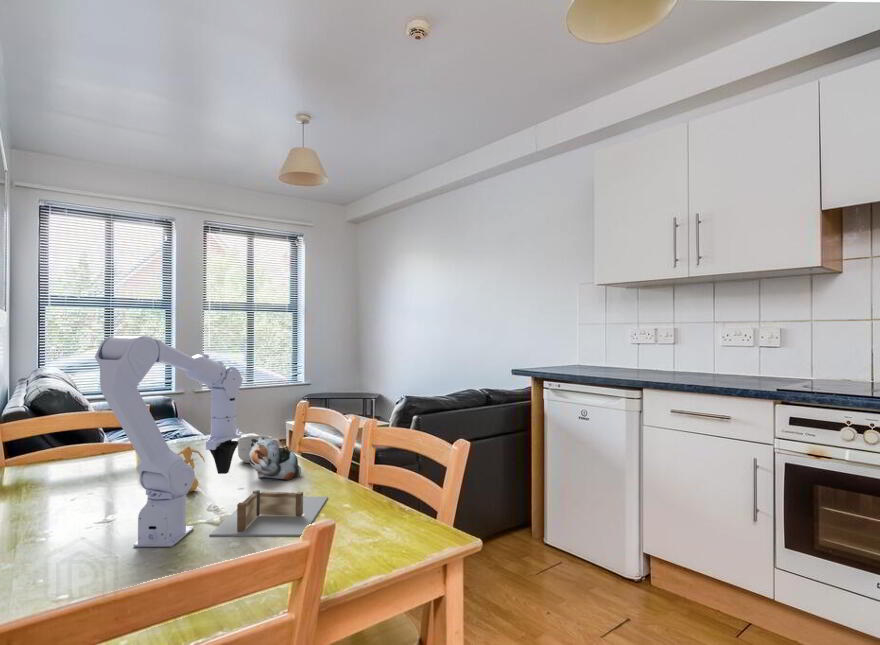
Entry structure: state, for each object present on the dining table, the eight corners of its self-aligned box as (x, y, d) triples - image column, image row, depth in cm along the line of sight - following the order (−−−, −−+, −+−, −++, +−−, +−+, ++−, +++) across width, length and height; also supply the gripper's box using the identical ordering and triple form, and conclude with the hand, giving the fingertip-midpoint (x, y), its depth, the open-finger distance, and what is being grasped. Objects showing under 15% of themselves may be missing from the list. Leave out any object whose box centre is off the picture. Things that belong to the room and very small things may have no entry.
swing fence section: (259, 514, 117) (259, 492, 117) (261, 512, 119) (262, 490, 119) (300, 516, 116) (300, 493, 116) (302, 514, 118) (303, 491, 118)
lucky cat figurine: (303, 479, 147) (284, 442, 141) (263, 499, 144) (242, 461, 139) (298, 453, 160) (280, 418, 155) (261, 470, 157) (242, 435, 152)
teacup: (230, 464, 164) (230, 439, 164) (251, 456, 174) (251, 432, 174) (266, 467, 160) (266, 442, 160) (286, 459, 170) (286, 435, 170)
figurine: (175, 496, 132) (176, 451, 132) (168, 491, 136) (169, 447, 136) (208, 489, 138) (209, 445, 138) (201, 484, 142) (201, 442, 142)
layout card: (303, 536, 107) (303, 533, 107) (209, 536, 107) (209, 533, 107) (327, 498, 131) (327, 496, 131) (250, 498, 131) (250, 496, 131)
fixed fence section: (244, 531, 109) (244, 504, 109) (236, 531, 108) (236, 504, 109) (260, 513, 119) (260, 489, 119) (253, 513, 119) (254, 489, 119)
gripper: (227, 422, 114) (227, 482, 114) (251, 411, 128) (251, 464, 128) (196, 421, 114) (196, 482, 114) (223, 411, 128) (223, 464, 128)
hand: (223, 472), depth 121 cm, fingers closed
